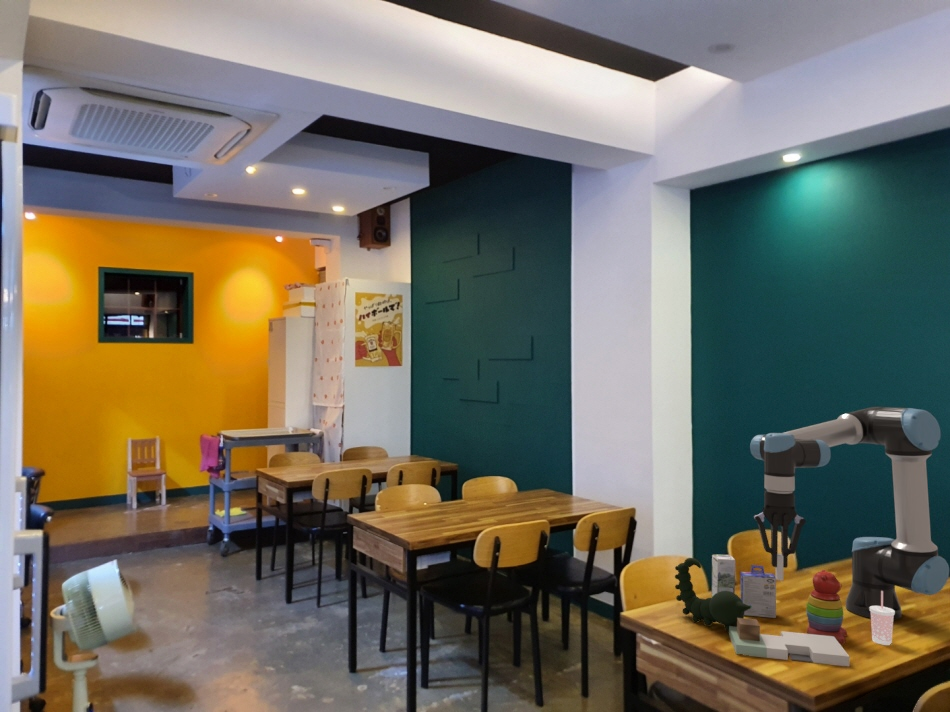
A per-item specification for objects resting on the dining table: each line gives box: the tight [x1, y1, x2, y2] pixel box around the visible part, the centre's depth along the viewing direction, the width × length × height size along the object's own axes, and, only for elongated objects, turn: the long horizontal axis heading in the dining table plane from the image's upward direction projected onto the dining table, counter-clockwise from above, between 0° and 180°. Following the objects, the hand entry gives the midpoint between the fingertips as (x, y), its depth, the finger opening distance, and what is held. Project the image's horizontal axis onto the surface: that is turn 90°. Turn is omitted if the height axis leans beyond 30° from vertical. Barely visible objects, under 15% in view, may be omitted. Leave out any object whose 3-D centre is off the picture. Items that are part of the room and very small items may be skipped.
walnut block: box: [737, 617, 761, 641], centre depth 186 cm, size 5×5×4 cm
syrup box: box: [710, 554, 736, 598], centre depth 224 cm, size 6×6×14 cm
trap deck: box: [728, 626, 850, 667], centre depth 184 cm, size 27×14×2 cm, turn 77°
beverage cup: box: [869, 591, 895, 646], centre depth 192 cm, size 6×6×14 cm
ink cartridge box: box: [740, 564, 777, 619], centre depth 212 cm, size 10×6×14 cm, turn 78°
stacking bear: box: [805, 569, 848, 645], centre depth 196 cm, size 11×10×18 cm
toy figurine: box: [674, 557, 751, 634], centre depth 202 cm, size 9×19×25 cm
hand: (779, 579), depth 185 cm, fingers closed
